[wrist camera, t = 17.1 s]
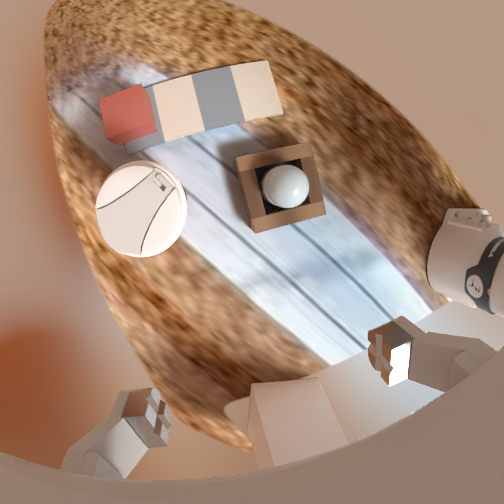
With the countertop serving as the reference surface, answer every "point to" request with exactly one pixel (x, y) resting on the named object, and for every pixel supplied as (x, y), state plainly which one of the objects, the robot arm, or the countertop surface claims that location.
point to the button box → (252, 195)
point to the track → (209, 102)
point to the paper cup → (141, 209)
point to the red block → (127, 115)
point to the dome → (284, 186)
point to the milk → (291, 422)
